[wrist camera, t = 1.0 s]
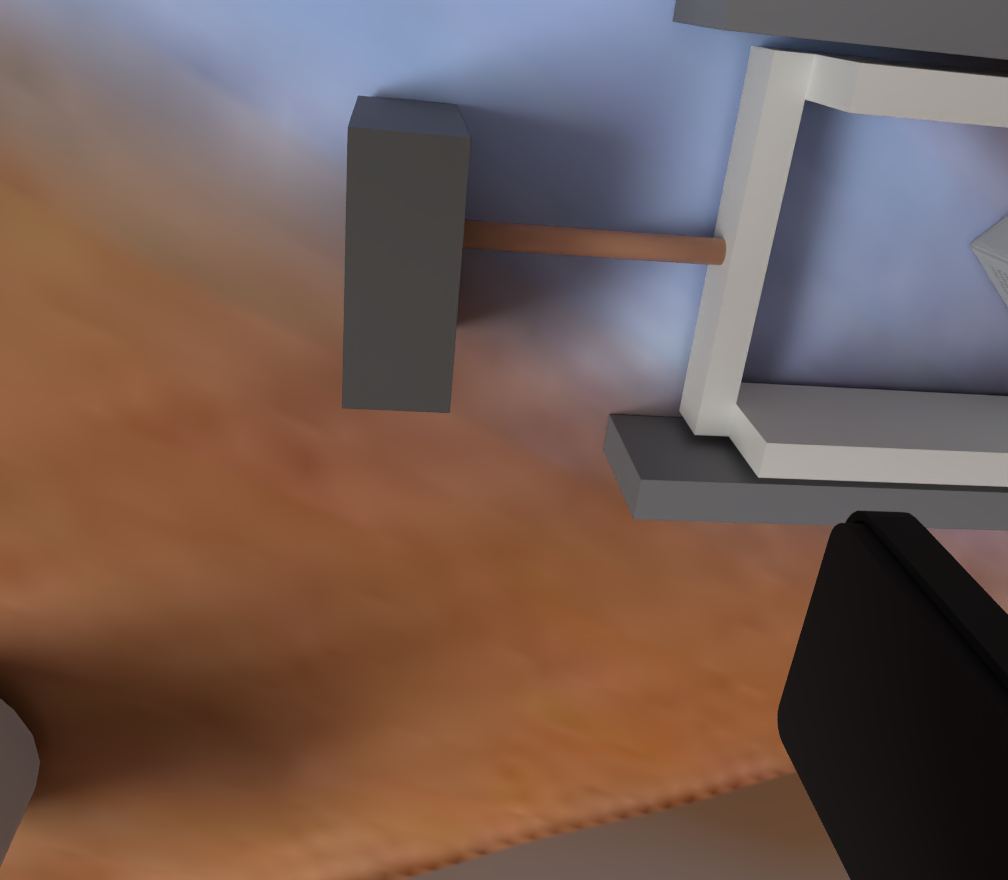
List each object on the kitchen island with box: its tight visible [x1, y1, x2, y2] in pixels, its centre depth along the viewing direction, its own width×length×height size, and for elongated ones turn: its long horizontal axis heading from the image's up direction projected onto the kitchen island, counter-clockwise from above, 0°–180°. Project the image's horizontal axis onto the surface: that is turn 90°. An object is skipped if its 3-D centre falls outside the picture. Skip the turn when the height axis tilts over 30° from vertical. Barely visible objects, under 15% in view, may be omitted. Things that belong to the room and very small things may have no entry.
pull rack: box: [342, 46, 1008, 487], centre depth 23 cm, size 10×26×6 cm, turn 84°
